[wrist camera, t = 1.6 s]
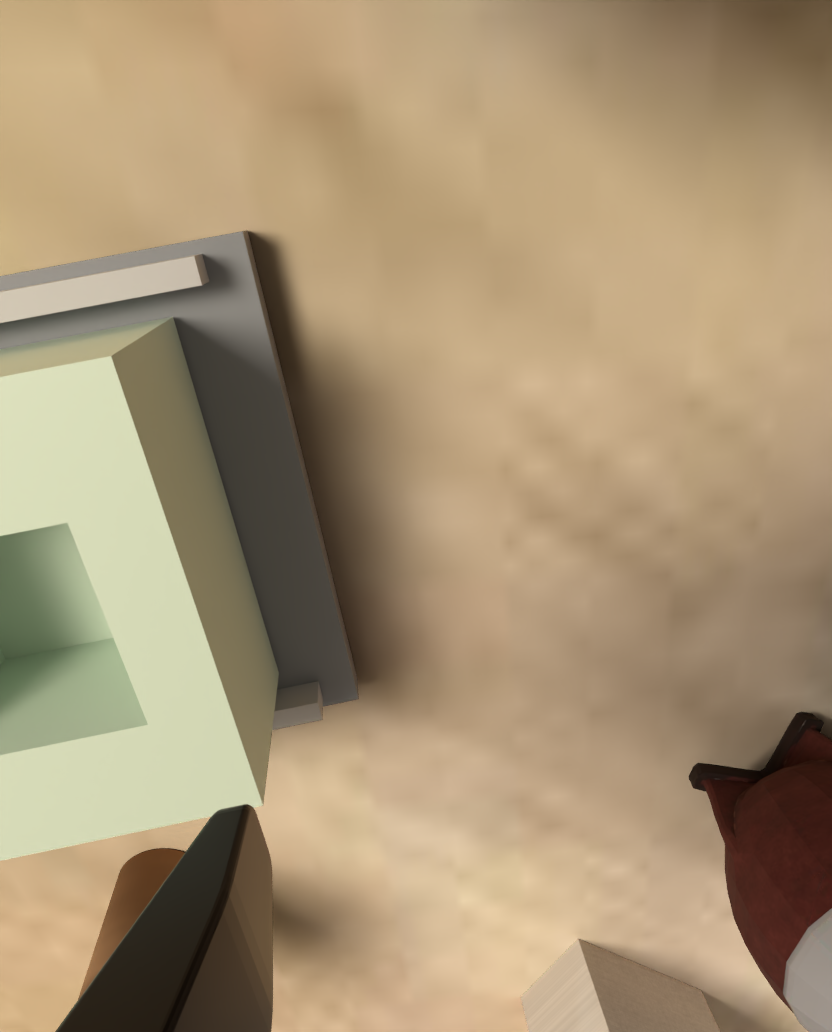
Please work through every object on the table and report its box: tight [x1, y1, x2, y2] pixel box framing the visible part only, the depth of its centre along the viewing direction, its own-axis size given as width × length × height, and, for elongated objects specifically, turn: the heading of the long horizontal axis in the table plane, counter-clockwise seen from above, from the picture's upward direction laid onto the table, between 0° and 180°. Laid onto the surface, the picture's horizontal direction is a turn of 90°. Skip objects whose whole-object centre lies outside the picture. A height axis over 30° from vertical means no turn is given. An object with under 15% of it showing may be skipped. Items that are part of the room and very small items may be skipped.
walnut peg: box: [78, 849, 185, 1000], centre depth 21 cm, size 3×3×8 cm
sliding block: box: [0, 317, 279, 861], centre depth 16 cm, size 8×10×5 cm
